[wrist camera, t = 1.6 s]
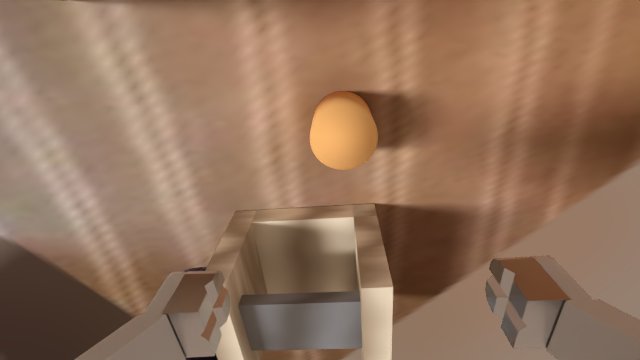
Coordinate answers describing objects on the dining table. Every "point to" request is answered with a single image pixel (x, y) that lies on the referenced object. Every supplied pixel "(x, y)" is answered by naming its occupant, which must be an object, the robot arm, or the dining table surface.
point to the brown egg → (343, 131)
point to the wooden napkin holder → (305, 282)
